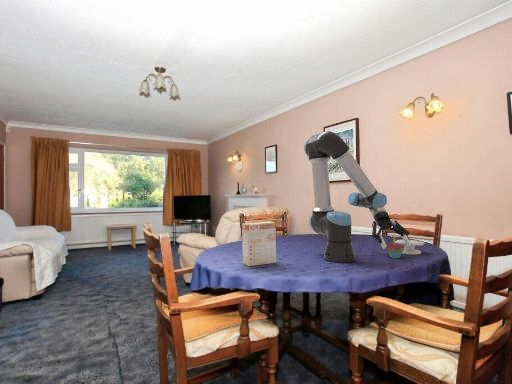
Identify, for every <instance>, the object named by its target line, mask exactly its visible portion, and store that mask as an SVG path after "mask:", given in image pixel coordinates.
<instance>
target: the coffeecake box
mask: <svg viewBox="0 0 512 384" xmlns="http://www.w3.org/2000/svg"><path fill="white" fill-rule="evenodd" d="M241 225H242V226H241V228H242V229H241V232H242V235H241V237H242V264H243V265H245V266H246V267H253V266H259V265H266V264H267V265H269V264H277V238H276V237H277V235H276V230H277V229H276V227H277V226H276V221H270V220H269V221H257V222H255V221H254V222H253V221H252V222H242V223H241Z"/></svg>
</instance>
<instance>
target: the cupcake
mask: <svg viewBox="0 0 512 384" xmlns="http://www.w3.org/2000/svg"><path fill="white" fill-rule="evenodd" d="M395 241H396V235H395V234H393V242H391V243H388V244H386V245H387V247H386V248H385V250H387V252H388V254H389V257H390V258H394V259H400V258H401V256H402V252H403V251H404V245H401V244H398V243H395Z"/></svg>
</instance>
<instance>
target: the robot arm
mask: <svg viewBox="0 0 512 384" xmlns="http://www.w3.org/2000/svg"><path fill="white" fill-rule="evenodd" d="M303 148H304V153H305V154H306V156H308V162H309V163H310V164H311V170H312V171H311V172H312V185H313V199H314V202H313V203H314V207H313V209H312V211H311V212H312V215H311V216H310V217H309V226H310V229H311V230H312V231H313V232H314V233H316V234H318V235H323V236H326V237H327V240H326V241H327V242H326V247H325V250H324V253H323V259H324V260H325V261H328V262H334V263H353V262H355V261H356V253H355V251H354V247H353V244H352V216H351V214H350V213H348V212H345V211H339V210H338V211H336V210H335V208H333V207H332V201H331V200H332V199H331V187H330V174H329V172H330V171H329V161H330V160H331V158H332V161H333V160H334V161H336V162H337V163H338V164H339V166H340V168H341V169H342V170H343V171H344V173H345V174H346V176H347V177H348V178H349V180H350V181H351V182H352V183H353V185H354V187H355V188H356V189H357V190H358V192H355V191H353V192H350V193H349V195H348V198H347V202H348V204H349V205H350V206H353V207H358V208H365V209H369V211H370V213H371V215H372V217H373V219H374V220H373V221H372V224H371V226H372V231H371V237H372V239H375V240H377V242H378V244H380V245H381V247H382V249H383V250H386V247H387V245H388V244H387V243H386V242H385V239H384V238H383V236H382V235H381V234H382V231H383V230H384V231H386V230H388V231H389V230H390V231H393V232H395V234H398V235H399V236H400V237H402V240H404V242H405V244H406V246H407V247H408V248H410V247H411V243H410V240H411V239H410V238H409V235H410V233H411V232H409V231H408V230H407V229H406V228H405V227H403V226H402V225H401V224H400V223H399V222H398V220H395V219H394V221H392V220H391V218H390V215H389V213H388V212H387V210H386V208H385V207H386V205H387V203H388V198H387V196H386V194H385V193H381V192H379V191H378V190H377V188H376V187H375V185H374V184H373V183H372V181H371V180H370V179H369V176H367V174H366V173H365V172H364V170H363V169H362V168H361V166H360V164H359V163H358V162H357V160H356V159H355V157H354V156H353V154H352V153H351V152H350V147H349V145H348V144H347V142H346V141H345V140H344V139H343V138H342V137H341V136H340V135H339V134H337V133H336V132H334V131H331V130H330V131H329V130H326V131H322V132H320V133H316V134H313V135H312V136H310V137H308V138H307V139H306V141H305V142H304V145H303ZM377 227H379V228H378V231H377Z"/></svg>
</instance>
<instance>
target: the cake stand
mask: <svg viewBox="0 0 512 384" xmlns="http://www.w3.org/2000/svg"><path fill="white" fill-rule="evenodd" d="M395 243H398V244H401V245H402V246H404V251H403V252H402V254H403V255H408V256H409V255H410V256H412V255H413V256H414V255H417V256H418V254H419V255H421V254H422V251H421V250H419V249H415V247H417V246H419V247H420V246H425V242H424V241H422V240H416V239H415V240H414V239H410V243H411V247H410V248H408V247H407V246H406V244H405V242H404V240H403V239H397V240H396V239H395ZM402 254H401V255H402Z"/></svg>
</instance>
